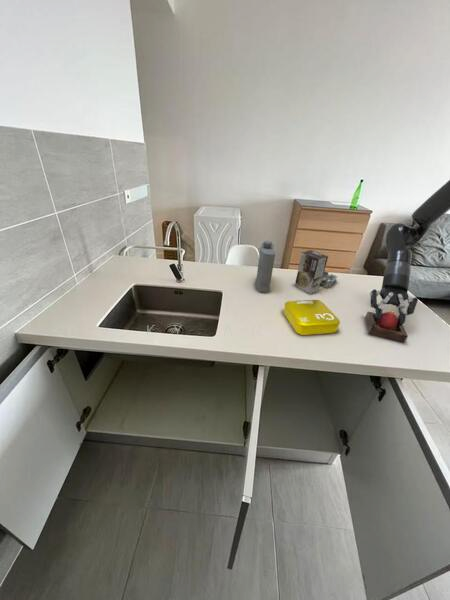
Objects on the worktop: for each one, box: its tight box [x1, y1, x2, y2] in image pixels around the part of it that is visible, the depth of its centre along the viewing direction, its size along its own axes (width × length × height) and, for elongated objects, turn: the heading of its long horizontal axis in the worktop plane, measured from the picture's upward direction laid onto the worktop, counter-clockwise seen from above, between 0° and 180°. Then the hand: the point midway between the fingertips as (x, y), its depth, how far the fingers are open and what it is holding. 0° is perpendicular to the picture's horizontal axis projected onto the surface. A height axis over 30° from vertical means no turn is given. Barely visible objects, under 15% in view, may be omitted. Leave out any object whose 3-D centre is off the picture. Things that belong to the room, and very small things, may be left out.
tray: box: [364, 311, 408, 344], centre depth 84 cm, size 11×11×3 cm
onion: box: [376, 310, 398, 330], centre depth 83 cm, size 6×6×8 cm
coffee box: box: [294, 249, 329, 295], centre depth 105 cm, size 9×6×16 cm
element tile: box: [282, 299, 341, 336], centre depth 86 cm, size 15×15×5 cm
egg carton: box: [320, 269, 338, 288], centre depth 114 cm, size 11×8×4 cm
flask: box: [255, 240, 276, 294], centre depth 105 cm, size 15×6×20 cm, turn 174°
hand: (389, 322), depth 82 cm, fingers closed on onion, 5 cm apart
